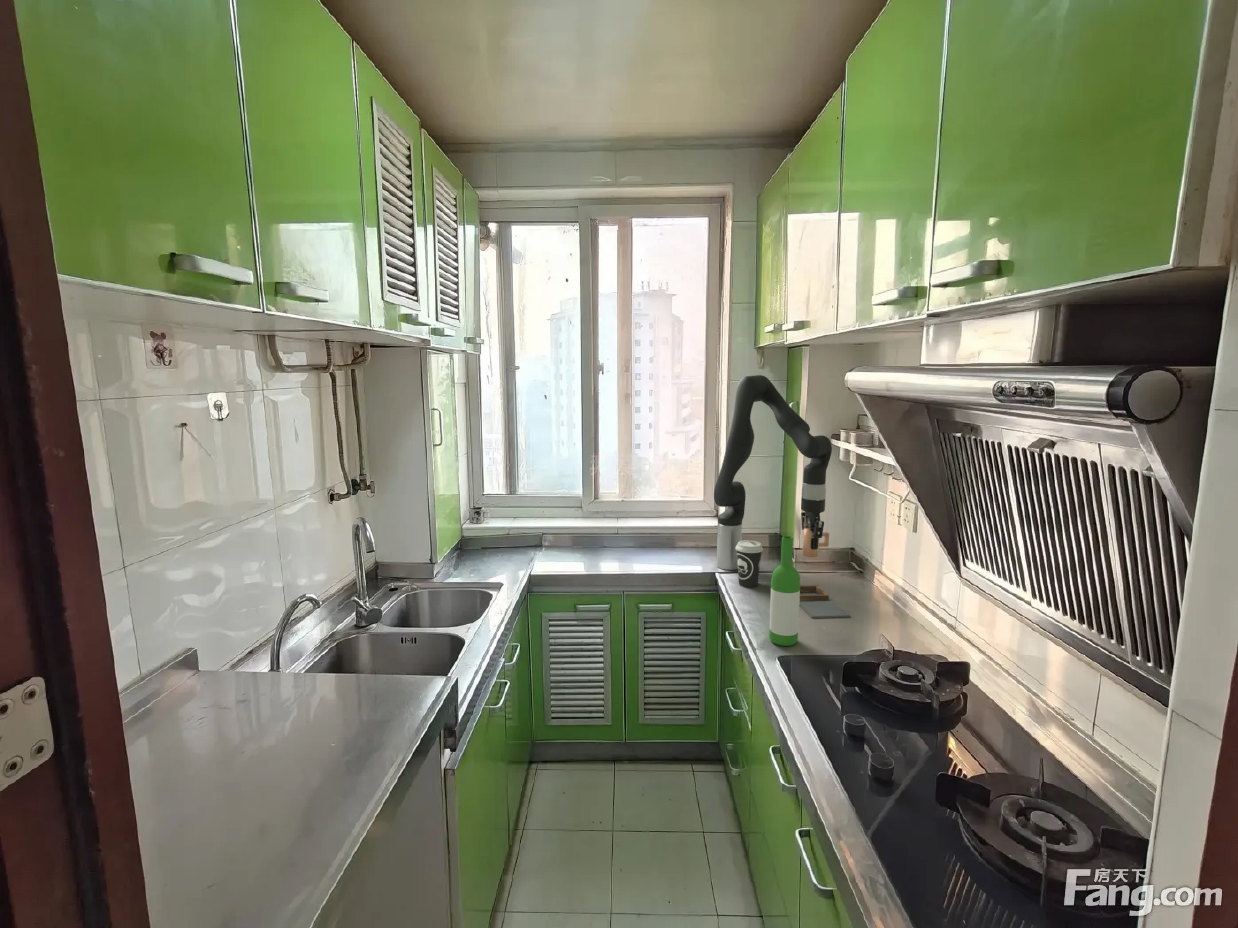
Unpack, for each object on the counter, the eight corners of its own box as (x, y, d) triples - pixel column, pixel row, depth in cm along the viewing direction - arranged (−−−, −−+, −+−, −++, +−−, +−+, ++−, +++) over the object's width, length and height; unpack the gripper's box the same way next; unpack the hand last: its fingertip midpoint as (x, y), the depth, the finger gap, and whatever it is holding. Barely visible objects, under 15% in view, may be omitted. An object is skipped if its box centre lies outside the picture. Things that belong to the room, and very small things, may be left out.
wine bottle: (792, 634, 174) (797, 533, 169) (801, 647, 166) (806, 541, 162) (765, 635, 174) (769, 533, 169) (773, 647, 166) (777, 541, 161)
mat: (797, 603, 198) (797, 601, 197) (833, 602, 198) (833, 600, 198) (811, 618, 186) (811, 616, 186) (849, 617, 186) (849, 615, 186)
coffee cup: (762, 589, 210) (763, 547, 208) (734, 587, 212) (735, 546, 210) (761, 580, 219) (762, 540, 217) (734, 578, 221) (735, 538, 219)
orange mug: (805, 557, 199) (807, 530, 198) (800, 552, 204) (801, 526, 203) (830, 556, 200) (831, 530, 198) (824, 552, 205) (825, 526, 203)
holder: (789, 591, 208) (789, 585, 208) (816, 590, 209) (817, 585, 209) (799, 601, 199) (800, 596, 198) (828, 601, 199) (828, 595, 199)
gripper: (794, 492, 205) (792, 540, 208) (810, 501, 191) (807, 553, 194) (816, 492, 206) (813, 540, 209) (833, 501, 192) (830, 553, 195)
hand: (810, 546), depth 201 cm, fingers closed on orange mug, 5 cm apart
